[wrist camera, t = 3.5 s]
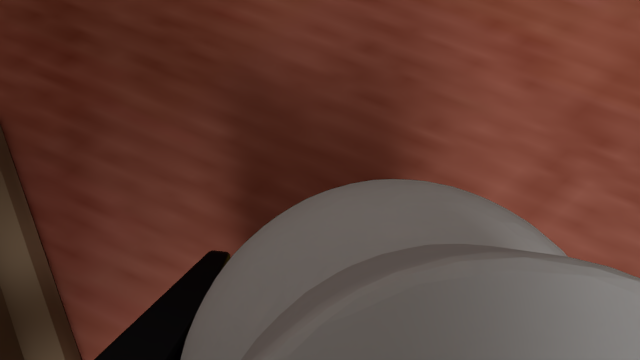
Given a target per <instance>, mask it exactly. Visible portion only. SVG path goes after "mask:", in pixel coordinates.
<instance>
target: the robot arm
mask: <svg viewBox="0 0 640 360" xmlns="http://www.w3.org/2000/svg"><path fill="white" fill-rule="evenodd" d="M229 260H230V254H229V253H228V252H223V251H210V252H208V253H207V254H206V255H205V256H204V257H203V258H202V259H201V260H200V261H199V262H198V263H196V264H195V265H194V266H193V267H192V268H191V269H190V270H189V271H188V272H187V273H186V274H185V275H184V276H183V277H182V278H181V279H179V280H178V281H177V282H176V283H175V284H174V285H173V286H172V287H171V288H170V289H169V290H168V291H167V292H166V293H165V294H163V295H162V296H161V297H160V298H159V299H158V300H157V301H156V302H155V303H154V304H153V305H152V306H151V307H150V308H149V309H148V310H146V311H145V312H144V313H143V314H142V315H141V316H140V317H139V318H138V319H137V320H136V321H135V322H134V323H133V324H132V325H131V326H129V327H128V328H127V329H126V330H125V331H124V332H123V333H122V334H121V335H120V336H119V337H118V338H117V339H116V340H115V341H113V342H112V343H111V344H110V345H109V346H108V347H107V348H106V349H105V350H104V351H103V352H102V353H101V354H100V355H99V356H98V357H96V358H95V359H94V360H181V355H182V351H183V348H184V344H185V341H186V338H187V335H188V332H189V330H190V327H191V325H192V322H193V320H194V318H195V315H196V313H197V311H198V309H199V307H200V305H201V303H202V301H203V299H204V297H205V295H206V294H207V292H208V290H209V289H210V287H211V285H212V284H213V282H214V280H215V279H216V277H217V276H218V274H219V273H220V272H221V270H222V269H223V268H224V266H225V265H226V264H227V262H228V261H229Z"/></svg>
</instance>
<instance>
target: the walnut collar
mask: <svg viewBox="0 0 640 360" xmlns="http://www.w3.org/2000/svg"><path fill="white" fill-rule="evenodd" d="M0 360H81V357H80V354H79V352H78V349H77V346H76V343H75V340H74V337H73V334H72V331H71V328H70V326H69V323H68V320H67V317H66V314H65V311H64V308H63V305H62V302H61V299H60V297H59V294H58V291H57V288H56V285H55V282H54V279H53V276H52V273H51V271H50V268H49V265H48V262H47V259H46V256H45V253H44V250H43V247H42V244H41V242H40V239H39V236H38V233H37V230H36V227H35V224H34V221H33V218H32V216H31V213H30V210H29V207H28V204H27V201H26V198H25V195H24V192H23V189H22V187H21V184H20V181H19V178H18V175H17V172H16V169H15V166H14V163H13V161H12V158H11V155H10V152H9V149H8V146H7V143H6V140H5V137H4V134H3V132H2V129H1V126H0Z"/></svg>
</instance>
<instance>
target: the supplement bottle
mask: <svg viewBox="0 0 640 360" xmlns="http://www.w3.org/2000/svg"><path fill="white" fill-rule="evenodd" d="M181 360H640V278H638V277H635V276H632V275H630V274H627V273H624V272H622V271H619V270H616V269H614V268H611V267H608V266H604V265H600V264H596V263H591V262H587V261H583V260H579V259H575V258H570V257H568V256H567V255H566V254H565V253H564V252H563V251H562V250H561V249H560V248H559V247H558V246H557V245H555V244H554V243H553V242H552V241H551V240H550V239H548V238H547V237H546V236H545V235H544V234H542V233H541V232H540V231H539V230H538V229H536V228H535V227H534V226H533V225H531V224H530V223H529V222H527V221H526V220H524V219H522V218H521V217H519V216H517V215H516V214H514V213H512V212H511V211H509V210H507V209H506V208H504V207H502V206H500V205H498V204H496V203H494V202H492V201H490V200H488V199H485V198H483V197H480V196H478V195H475V194H473V193H470V192H467V191H464V190H461V189H458V188H455V187H452V186H447V185H442V184H437V183H432V182H427V181H418V180H404V179H383V180H369V181H364V182H358V183H352V184H348V185H345V186H341V187H337V188H334V189H330V190H327V191H325V192H322V193H319V194H317V195H314V196H312V197H310V198H307V199H305V200H303V201H302V202H300V203H298V204H296V205H294V206H293V207H291V208H289V209H288V210H286V211H285V212H283V213H281V214H280V215H278V216H277V217H275V218H274V219H273V220H271V221H270V222H269V223H267V224H266V225H265V226H263V227H262V228H261V229H260V230H259V231H258V232H256V233H255V234H254V235H253V236H252V237H251V238H250V239H248V240H247V241H246V242H245V243H244V244H243V245H242V246H241V247H240V248H239V249H238V250H237V251H236V252H235V254H234V255H233V256H232V257H231V258H230V260H229V261H228V262H227V264H226V265H225V266H224V268H223V269H222V270H221V272H220V273H219V274H218V276H217V277H216V279H215V280H214V282H213V284H212V285H211V287H210V289H209V290H208V292H207V294H206V295H205V297H204V299H203V301H202V303H201V305H200V307H199V309H198V311H197V313H196V315H195V318H194V320H193V322H192V325H191V327H190V330H189V332H188V335H187V338H186V341H185V344H184V348H183V351H182V355H181Z"/></svg>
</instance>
